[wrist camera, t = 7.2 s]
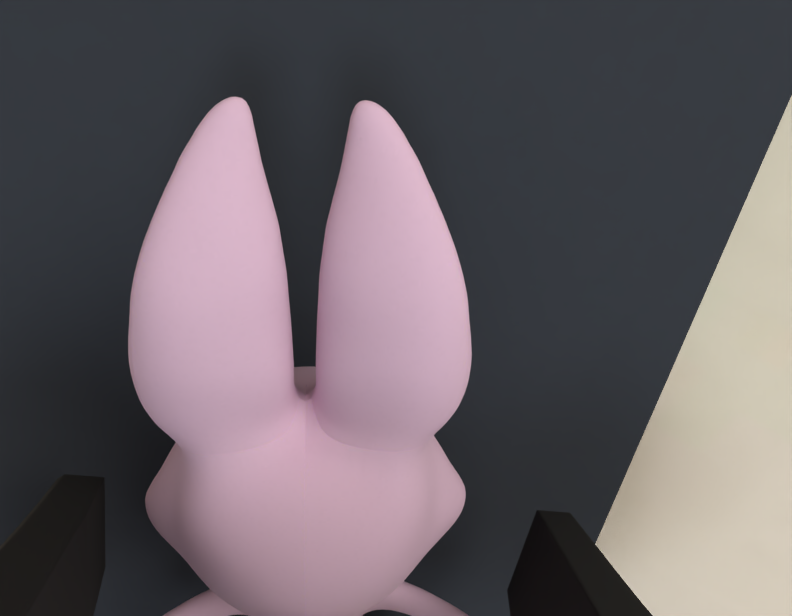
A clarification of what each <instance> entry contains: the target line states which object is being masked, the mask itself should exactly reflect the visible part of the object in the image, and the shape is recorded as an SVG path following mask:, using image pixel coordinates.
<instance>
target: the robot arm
mask: <svg viewBox="0 0 792 616" xmlns="http://www.w3.org/2000/svg"><path fill="white" fill-rule="evenodd" d="M105 567H106V563H105V477H95V476H82V475H69V474H64V475H62V476H61V477H59V478H58V479H57V480H56V481H55V482H54V484H53V485H52V486H51V487H50V489H49V490H48V491H47V492H46V494H45V495H44V496H43V497H42V499H41V500H40V501H39V502H38V504H37V505H36V506H35V507H34V508H33V510H32V511H31V512H30V513H29V514H28V515H27V517H26V518H25V519H24V520H23V521H22V522H21V524H20V525H19V526H18V527H17V528H16V529H15V530H14V532H13V533H12V534H11V535H10V536H9V537H8V538H7V539H6V541H5V542H4V543H3V544H2V545H1V546H0V616H93V615H94V611H95V607H96V603H97V600H98V595H99V591H100V587H101V583H102V579H103V575H104V571H105ZM507 593H508V601H509V609H510V616H652V615H651V613H650V612H649V611H648V610H647V609H646V607H645V606H644V605H643V604H642V603H641V601H640V600H639V599H638V598H637V597H636V595H635V594H634V593H633V592H632V590H631V589H630V588H629V587H628V585H627V584H626V583H625V582H624V580H623V579H622V578H621V577H620V575H619V574H618V573H617V572H616V570H615V569H614V568H613V567H612V565H611V564H610V563H609V562H608V560H607V559H606V558H605V556H604V555H603V554H602V553H601V551H600V550H599V549H598V547H597V546H596V545H595V544H594V542H593V541H592V540H591V538H590V537H589V536H588V535H587V533H586V532H585V531H584V529H583V528H582V527H581V526H580V524H579V523H578V522H577V521H576V519H575V518H574V517H573V516H572V514H571V513H569V512H556V511H543V510H537V511H536V514H535V516H534V519H533V522H532V525H531V527H530V530H529V533H528V535H527V538H526V541H525V543H524V546H523V549H522V551H521V554H520V557H519V559H518V562H517V565H516V568H515V570H514V573H513V576H512V578H511V581H510V584H509V586H508V589H507Z"/></svg>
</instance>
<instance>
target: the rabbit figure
mask: <svg viewBox="0 0 792 616" xmlns="http://www.w3.org/2000/svg"><path fill="white" fill-rule="evenodd" d="M128 357H129V366H130V371H131V376H132V380H133V383H134V387H135V389H136V392H137V395H138V397H139V400H140V402H141V404H142V406H143V407H144V409H145V410H146V412H147V413H148V415H149V416H150V417H151V419H152V420H153V421H154V422H155V423H156V424H157V426H158V427H160V428H161V429H162V430H163V431H164V432H165V433H166V434H168V435H169V436H170V437H171V438H172V439H173V440H174V441H175V442H176V443H175V444H174V446H173V448H172V449H171V451H170V453H169V454H168V456H167V458H166V460H165V462H164V464H163V465H162V467H161V469H160V470H159V472H158V473H157V475H156V476H155V478H154V479H153V481H152V483H151V485H150V486H149V488H148V490H147V493H146V497H145V505H146V511H147V514H148V517H149V519H150V521H151V523H152V524H153V526H154V527H155V529H156V530H157V531H158V532H159V533H160V535H161V536H162V537H163V538H164V539H165V540H166V541H167V542H168V543H169V544H170V545H171V546H172V547H173V548H174V549H175V550H176V551H177V552H178V553H179V554H180V555H181V556H182V557H183V558H184V559H185V561H186V562H187V563H188V564H189V565H190V567H191V568H192V569H193V570H194V571H195V573H196V574H197V575H198V576H199V578H200V579H201V580H202V581H203V582H204V583H205V584H206V585H207V586H208V587H209V588H210V589H209V590H207V591H205V592H203V593H201V594H199V595H197V596H195V597H193V598H191V599H189V600H187V601H186V602H184V603H182V604H181V605H179V606H177V607H176V608H174V609H172V610H171V611H169V612H167V613H166V614H164V615H163V616H230V615H248V616H363V614H365V613H367V612H370V611H373V610H392V611H397V612H401V613H405V614H408V615H411V616H468V615H467V614H466V613H464V612H463V611H461V610H459V609H458V608H456V607H455V606H453V605H451V604H450V603H448V602H446V601H444V600H442V599H441V598H439V597H437V596H435V595H433V594H431V593H429V592H427V591H425V590H423V589H421V588H419V587H417V586H414V585H412V584H410V583H407V582H405V581H404V580H405V579H406V578H407V577H408V576H409V574H410V573H411V572H412V571H413V570H414V568H415V567H416V566H417V565H418V563H419V562H420V561H421V560H422V558H423V557H424V556H425V555H426V554H427V553H428V551H429V550H430V549H431V548H432V547H433V546H434V545H435V544H436V543H437V542H438V541H439V540H440V538H441V537H442V536H443V535H444V534H445V533H446V532H447V531H448V530H449V529H450V528H451V526H452V525H453V524H454V523H455V521H456V520H457V519H458V517H459V515H460V514H461V512H462V510H463V507H464V504H465V498H466V492H465V486H464V484H463V481H462V480H461V478H460V476H459V475H458V473H457V471H456V470H455V469H454V467H453V466H452V464H451V463H450V461H449V460H448V458H447V456H446V454H445V453H444V451H443V449H442V448H441V446H440V444H439V443H438V441H437V440H436V438H435V437H434V434H435V433H436V432H437V431H438V430H439V429H441V428H442V427H443V426H444V425H445V424H446V423H447V421H448V420H449V419H450V418H451V416H452V415H453V414H454V413H455V411H456V410H457V408H458V406H459V405H460V402H461V400H462V398H463V396H464V393H465V391H466V388H467V384H468V380H469V375H470V369H471V360H472V347H471V331H470V322H469V308H468V298H467V291H466V286H465V281H464V276H463V273H462V269H461V265H460V262H459V258H458V255H457V252H456V248H455V245H454V243H453V240H452V237H451V234H450V232H449V229H448V226H447V224H446V221H445V219H444V216H443V214H442V212H441V209H440V207H439V205H438V202H437V200H436V198H435V195H434V193H433V191H432V189H431V187H430V184H429V182H428V180H427V178H426V175H425V173H424V171H423V169H422V166H421V164H420V162H419V160H418V158H417V156H416V154H415V153H414V151H413V149H412V147H411V146H410V144H409V142H408V140H407V139H406V137H405V135H404V133H403V132H402V130H401V129H400V127H399V126H398V124H397V123H396V122H395V120H394V119H393V117H392V116H391V115H390V114H389V113H388V112H387V111H386V110H385V109H384V108H383V107H381V106H380V105H378V104H377V103H374V102H372V101H368V100H364V101H360V102H358V103H357V104H356V105H355V107H354V109H353V111H352V114H351V117H350V123H349V128H348V133H347V138H346V144H345V149H344V154H343V159H342V164H341V168H340V173H339V177H338V181H337V185H336V188H335V192H334V196H333V200H332V204H331V208H330V212H329V215H328V219H327V224H326V229H325V237H324V244H323V251H322V258H321V265H320V274H319V293H318V311H317V335H316V367H294V359H293V343H292V328H291V315H290V304H289V293H288V281H287V271H286V265H285V259H284V253H283V247H282V241H281V235H280V228H279V223H278V219H277V215H276V212H275V208H274V205H273V201H272V197H271V194H270V190H269V187H268V183H267V180H266V176H265V172H264V168H263V165H262V161H261V156H260V151H259V146H258V142H257V137H256V132H255V128H254V123H253V118H252V114H251V111H250V108H249V106H248V104H247V102H246V101H245V100H244V99H242V98H240V97H229V98H226V99H224V100H222V101H221V102H219V103H218V104H216V105H215V106H214V107H213V108H212V109H211V110H210V111H209V112H208V113H207V114H206V116H205V117H204V118H203V120H202V121H201V123H200V124H199V125H198V127H197V128H196V130H195V132H194V133H193V135H192V137H191V139H190V140H189V142H188V143H187V145H186V147H185V148H184V150H183V152H182V154H181V156H180V157H179V160H178V162H177V164H176V166H175V169H174V171H173V173H172V175H171V177H170V179H169V181H168V183H167V185H166V187H165V190H164V192H163V194H162V197H161V199H160V201H159V204H158V206H157V208H156V210H155V213H154V215H153V217H152V220H151V222H150V225H149V228H148V230H147V233H146V236H145V238H144V241H143V244H142V247H141V251H140V254H139V258H138V261H137V265H136V269H135V273H134V278H133V283H132V289H131V297H130V315H129V333H128Z"/></svg>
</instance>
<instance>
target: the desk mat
mask: <svg viewBox="0 0 792 616" xmlns="http://www.w3.org/2000/svg"><path fill="white" fill-rule="evenodd" d="M791 95H792V0H0V546H1V545H2V544H3V543H4V542H5V541H6V539H7V538H8V537H9V536H10V535H11V534H12V533H13V532H14V530H15V529H16V528H17V527H18V526H19V525H20V524H21V522H22V521H23V520H24V519H25V518H26V517H27V515H28V514H29V513H30V512H31V511H32V510H33V508H34V507H35V506H36V505H37V504H38V502H39V501H40V500H41V499H42V497H43V496H44V495H45V494H46V492H47V491H48V490H49V489H50V487H51V486H52V485H53V484H54V482H55V481H56V480H57V479H58V478H59V477H61V476H62V475H64V474H69V475H82V476H95V477H105V563H106V567H105V571H104V575H103V579H102V583H101V587H100V591H99V595H98V600H97V603H96V607H95V611H94V615H93V616H163V615H164V614H166V613H167V612H169V611H171V610H172V609H174V608H176V607H177V606H179V605H181V604H182V603H184V602H186V601H187V600H189V599H191V598H193V597H195V596H197V595H199V594H201V593H203V592H205V591H207V590H209V589H210V588H209V587H208V586H207V585H206V584H205V583H204V582H203V581H202V580H201V579H200V578H199V576H198V575H197V574H196V573H195V571H194V570H193V569H192V568H191V567H190V565H189V564H188V563H187V562H186V561H185V559H184V558H183V557H182V556H181V555H180V554H179V553H178V552H177V551H176V550H175V549H174V548H173V547H172V546H171V545H170V544H169V543H168V542H167V541H166V540H165V539H164V538H163V537H162V536H161V535H160V533H159V532H158V531H157V530H156V529H155V527H154V526H153V524H152V523H151V521H150V519H149V517H148V514H147V511H146V505H145V497H146V493H147V490H148V488H149V486H150V485H151V483H152V481H153V479H154V478H155V476H156V475H157V473H158V472H159V470H160V469H161V467H162V465H163V464H164V462H165V460H166V458H167V456H168V454H169V453H170V451H171V449H172V448H173V446H174V444H175V443H176V442H175V441H174V440H173V439H172V438H171V437H170V436H169V435H168V434H166V433H165V432H164V431H163V430H162V429H161V428H160V427H158V426H157V424H156V423H155V422H154V421H153V420H152V419H151V417H150V416H149V415H148V413H147V412H146V410H145V409H144V407H143V406H142V404H141V402H140V400H139V397H138V395H137V392H136V389H135V387H134V383H133V380H132V376H131V371H130V366H129V357H128V333H129V315H130V297H131V289H132V283H133V278H134V273H135V269H136V265H137V261H138V258H139V254H140V251H141V247H142V244H143V241H144V238H145V236H146V233H147V230H148V228H149V225H150V222H151V220H152V217H153V215H154V213H155V210H156V208H157V206H158V204H159V201H160V199H161V197H162V194H163V192H164V190H165V187H166V185H167V183H168V181H169V179H170V177H171V175H172V173H173V171H174V169H175V166H176V164H177V162H178V160H179V157H180V156H181V154H182V152H183V150H184V148H185V147H186V145H187V143H188V142H189V140H190V139H191V137H192V135H193V133H194V132H195V130H196V128H197V127H198V125H199V124H200V123H201V121H202V120H203V118H204V117H205V116H206V114H207V113H208V112H209V111H210V110H211V109H212V108H213V107H214V106H215V105H216V104H218V103H219V102H221V101H222V100H224V99H226V98H229V97H240V98H242V99H244V100H245V101H246V102H247V104H248V106H249V108H250V111H251V114H252V118H253V123H254V128H255V132H256V137H257V142H258V146H259V151H260V156H261V161H262V165H263V168H264V172H265V176H266V180H267V183H268V187H269V190H270V194H271V197H272V201H273V205H274V208H275V212H276V215H277V219H278V223H279V228H280V235H281V241H282V247H283V253H284V259H285V265H286V271H287V281H288V293H289V304H290V315H291V328H292V343H293V359H294V367H316V335H317V311H318V293H319V274H320V265H321V258H322V251H323V244H324V237H325V229H326V224H327V219H328V215H329V212H330V208H331V204H332V200H333V196H334V192H335V188H336V185H337V181H338V177H339V173H340V168H341V164H342V159H343V154H344V149H345V144H346V138H347V133H348V128H349V123H350V117H351V114H352V111H353V109H354V107H355V105H356V104H357V103H358V102H360V101H364V100H368V101H372V102H374V103H377V104H378V105H380V106H381V107H383V108H384V109H385V110H386V111H387V112H388V113H389V114H390V115H391V116H392V117H393V119H394V120H395V122H396V123H397V124H398V126H399V127H400V129H401V130H402V132H403V133H404V135H405V137H406V139H407V140H408V142H409V144H410V146H411V147H412V149H413V151H414V153H415V154H416V156H417V158H418V160H419V162H420V164H421V166H422V169H423V171H424V173H425V175H426V178H427V180H428V182H429V184H430V187H431V189H432V191H433V193H434V195H435V198H436V200H437V202H438V205H439V207H440V209H441V212H442V214H443V216H444V219H445V221H446V224H447V226H448V229H449V232H450V234H451V237H452V240H453V243H454V245H455V248H456V252H457V255H458V258H459V262H460V265H461V269H462V273H463V276H464V281H465V286H466V291H467V298H468V308H469V322H470V331H471V347H472V360H471V369H470V375H469V380H468V384H467V388H466V391H465V393H464V396H463V398H462V400H461V402H460V405H459V406H458V408H457V410H456V411H455V413H454V414H453V415H452V416H451V418H450V419H449V420H448V421H447V423H446V424H445V425H444V426H443V427H442V428H441V429H439V430H438V431H437V432H436V433H435V434H434V437H435V438H436V440H437V441H438V443H439V444H440V446H441V448H442V449H443V451H444V453H445V454H446V456H447V458H448V460H449V461H450V463H451V464H452V466H453V467H454V469H455V470H456V471H457V473H458V475H459V476H460V478H461V480H462V481H463V484H464V486H465V492H466V498H465V504H464V507H463V510H462V512H461V514H460V515H459V517H458V519H457V520H456V521H455V523H454V524H453V525H452V526H451V528H450V529H449V530H448V531H447V532H446V533H445V534H444V535H443V536H442V537H441V538H440V540H439V541H438V542H437V543H436V544H435V545H434V546H433V547H432V548H431V549H430V550H429V551H428V553H427V554H426V555H425V556H424V557H423V558H422V560H421V561H420V562H419V563H418V565H417V566H416V567H415V568H414V570H413V571H412V572H411V573H410V574H409V576H408V577H407V578H406V579H405V580H404V581H405V582H407V583H410V584H412V585H414V586H417V587H419V588H421V589H423V590H425V591H427V592H429V593H431V594H433V595H435V596H437V597H439V598H441V599H442V600H444V601H446V602H448V603H450V604H451V605H453V606H455V607H456V608H458V609H459V610H461V611H463V612H464V613H466V614H467V615H468V616H510V609H509V601H508V593H507V589H508V586H509V584H510V581H511V578H512V576H513V573H514V570H515V568H516V565H517V562H518V559H519V557H520V554H521V551H522V549H523V546H524V543H525V541H526V538H527V535H528V533H529V530H530V527H531V525H532V522H533V519H534V516H535V514H536V511H537V510H543V511H556V512H569V513H571V514H572V516H573V517H574V518H575V519H576V521H577V522H578V523H579V524H580V526H581V527H582V528H583V529H584V531H585V532H586V533H587V535H588V536H589V537H590V538H591V540H592V541H593V542H594V544H595V543H596V541H597V538H598V536H599V534H600V532H601V529H602V527H603V525H604V522H605V520H606V518H607V516H608V513H609V511H610V509H611V506H612V504H613V502H614V500H615V497H616V495H617V493H618V490H619V488H620V486H621V484H622V481H623V479H624V477H625V474H626V472H627V470H628V468H629V465H630V463H631V461H632V458H633V456H634V454H635V452H636V449H637V447H638V445H639V442H640V440H641V438H642V436H643V433H644V431H645V429H646V426H647V424H648V422H649V420H650V417H651V415H652V413H653V410H654V408H655V406H656V404H657V401H658V399H659V397H660V394H661V392H662V390H663V388H664V385H665V383H666V381H667V378H668V376H669V374H670V372H671V369H672V367H673V365H674V362H675V360H676V358H677V356H678V353H679V351H680V349H681V346H682V344H683V342H684V340H685V337H686V335H687V333H688V330H689V328H690V326H691V324H692V321H693V319H694V317H695V314H696V312H697V310H698V308H699V305H700V303H701V301H702V298H703V296H704V294H705V292H706V289H707V287H708V285H709V282H710V280H711V278H712V276H713V273H714V271H715V269H716V266H717V264H718V262H719V260H720V257H721V255H722V253H723V250H724V248H725V246H726V244H727V241H728V239H729V237H730V234H731V232H732V230H733V228H734V225H735V223H736V221H737V218H738V216H739V214H740V212H741V209H742V207H743V205H744V202H745V200H746V198H747V196H748V193H749V191H750V189H751V186H752V184H753V182H754V180H755V177H756V175H757V173H758V170H759V168H760V166H761V164H762V161H763V159H764V157H765V154H766V152H767V150H768V148H769V145H770V143H771V141H772V138H773V136H774V134H775V132H776V129H777V127H778V125H779V122H780V120H781V118H782V116H783V113H784V111H785V109H786V107H787V104H788V102H789V100H790V97H791ZM230 616H248V615H230ZM363 616H411V615H408V614H405V613H401V612H397V611H392V610H373V611H370V612H367V613H365V614H363Z"/></svg>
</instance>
